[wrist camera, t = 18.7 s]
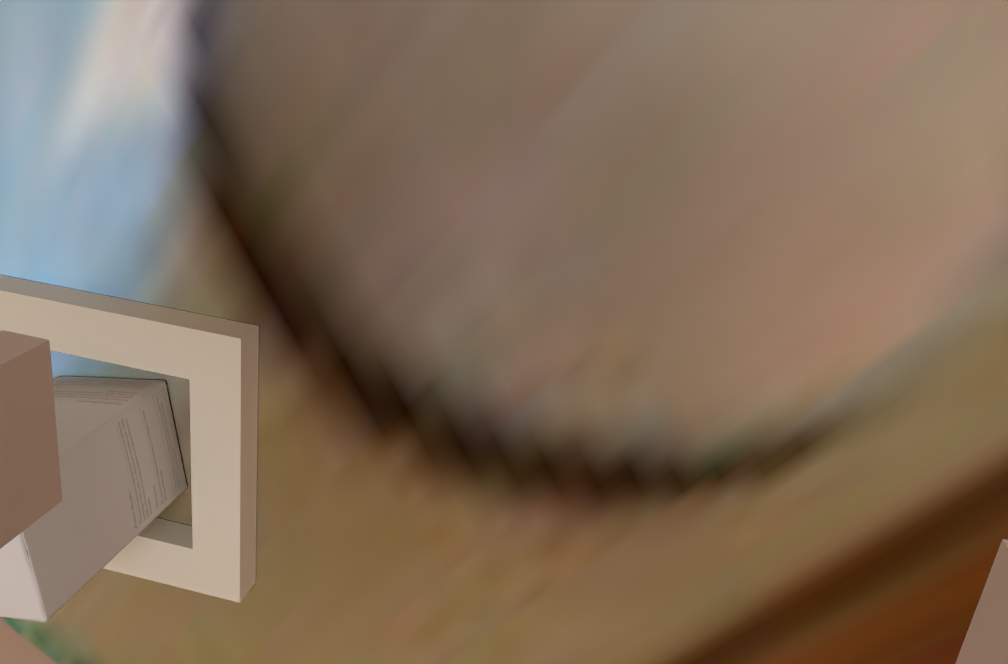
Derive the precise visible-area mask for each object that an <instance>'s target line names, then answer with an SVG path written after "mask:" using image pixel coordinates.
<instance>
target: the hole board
mask: <svg viewBox="0 0 1008 664" xmlns="http://www.w3.org/2000/svg"><path fill="white" fill-rule="evenodd" d="M2 330H5V331H10V332H14V333H19V334H24V335H29V336H33V337H38V338H43V339H48V340H49V342H50V350H52V351H57V352H61V353H66V354H71V355H76V356H80V357H85V358H90V359H94V360H99V361H104V362H109V363H113V364H118V365H123V366H128V367H132V368H137V369H142V370H147V371H151V372H156V373H161V374H166V375H170V376H175V377H180V378H185V379H189V381H190V434H191V487H192V526H189V525H185V524H181V523H176V522H172V521H168V520H164V519H160V518H155V519H154V520H153V521H152V522H151V523H150V524H149V525H148V526H147V527H146V528H144V529H143V530H142V531H141V532H140V533H139V534H138V535H137V536H136V537H135V538H134V539H133V540H132V541H131V542H130V543H129V544H128V545H127V546H126V547H124V548H123V549H122V550H121V551H120V552H119V553H118V554H117V555H116V556H115V557H114V558H113V559H112V560H111V561H110V562H109V563H108V564H106V565H105V566H104V567H103V568H104V569H108V570H112V571H116V572H120V573H124V574H128V575H132V576H136V577H140V578H144V579H148V580H152V581H156V582H160V583H164V584H168V585H172V586H176V587H180V588H183V589H187V590H191V591H195V592H199V593H203V594H207V595H211V596H215V597H219V598H223V599H227V600H231V601H235V602H239V603H240V602H241V601H242V599H243V598H244V597H245V595H246V594H247V593H248V592H249V590H250V589H251V588H252V587H253V585H254V584H255V583H256V514H257V434H258V353H259V326H257V325H252V324H247V323H242V322H237V321H232V320H227V319H222V318H217V317H211V316H206V315H201V314H196V313H191V312H186V311H181V310H176V309H171V308H166V307H161V306H156V305H151V304H146V303H141V302H136V301H131V300H126V299H120V298H115V297H110V296H105V295H100V294H95V293H90V292H85V291H80V290H75V289H70V288H65V287H60V286H55V285H50V284H45V283H40V282H35V281H29V280H24V279H19V278H14V277H9V276H4V275H0V331H2Z"/></svg>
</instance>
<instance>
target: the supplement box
mask: <svg viewBox="0 0 1008 664" xmlns="http://www.w3.org/2000/svg"><path fill="white" fill-rule="evenodd" d="M53 391H54V404H55V416H56V428H57V441H58V453H59V465H60V478H61V490H62V502H60V503H59V504H58V505H56V506H55V507H54V508H53V509H51V510H50V511H49V512H47V513H46V514H45V515H44V516H42V517H41V518H40V519H38V520H37V521H36V522H34V523H33V524H32V525H31V526H29V527H28V528H27V529H25V530H24V531H23V532H22V533H20V534H19V535H18V536H16V537H15V538H14V539H12V540H11V541H10V542H9V543H7V544H6V545H5V546H3V547H2V548H1V549H0V617H8V618H16V619H23V620H31V621H39V622H47V621H48V620H49V619H50V618H51V617H52V616H53V615H54V614H55V613H56V612H57V611H58V610H59V609H60V608H61V607H62V606H63V605H64V604H65V603H67V602H68V601H69V600H70V599H71V598H72V597H73V596H74V595H75V594H76V593H77V592H78V591H79V590H80V589H81V588H82V587H83V586H84V585H85V584H86V583H88V582H89V581H90V580H91V579H92V578H93V577H94V576H95V575H96V574H97V573H98V572H99V571H100V570H101V569H102V568H103V567H104V566H105V565H106V564H108V563H109V562H110V561H111V560H112V559H113V558H114V557H115V556H116V555H117V554H118V553H119V552H120V551H121V550H122V549H123V548H124V547H126V546H127V545H128V544H129V543H130V542H131V541H132V540H133V539H134V538H135V537H136V536H137V535H138V534H139V533H140V532H141V531H142V530H143V529H144V528H146V527H147V526H148V525H149V524H150V523H151V522H152V521H153V520H154V519H155V518H156V517H157V516H158V515H159V514H160V513H161V512H162V511H163V510H164V509H165V508H166V507H167V506H169V505H170V504H171V503H172V502H173V501H174V500H175V499H176V498H177V497H178V496H179V495H180V494H181V493H182V492H183V491H184V490H185V489H186V488H187V483H186V479H185V474H184V469H183V464H182V460H181V455H180V450H179V445H178V440H177V436H176V431H175V426H174V421H173V416H172V411H171V406H170V401H169V396H168V392H167V386H166V382H165V381H164V380H148V379H125V378H99V377H74V376H60V377H57V378H55V379H53Z"/></svg>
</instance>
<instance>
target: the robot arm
mask: <svg viewBox="0 0 1008 664" xmlns="http://www.w3.org/2000/svg"><path fill="white" fill-rule="evenodd" d="M60 502H62V490H61V478H60V465H59V453H58V441H57V428H56V416H55V404H54V391H53V379H52V367H51V355H50V342H49V340H48V339H43V338H38V337H33V336H29V335H24V334H19V333H14V332H10V331H5V330H2V331H0V549H1V548H2V547H3V546H5V545H6V544H7V543H9V542H10V541H11V540H12V539H14V538H15V537H16V536H18V535H19V534H20V533H22V532H23V531H24V530H25V529H27V528H28V527H29V526H31V525H32V524H33V523H34V522H36V521H37V520H38V519H40V518H41V517H42V516H44V515H45V514H46V513H47V512H49V511H50V510H51V509H53V508H54V507H55V506H56V505H58V504H59V503H60ZM955 664H1008V540H1005V539H1003V540H1002V542H1001V545H1000V547H999V550H998V553H997V555H996V558H995V561H994V563H993V566H992V569H991V571H990V574H989V576H988V579H987V582H986V584H985V587H984V590H983V592H982V595H981V598H980V600H979V603H978V605H977V608H976V611H975V613H974V616H973V619H972V621H971V624H970V627H969V629H968V632H967V634H966V637H965V640H964V642H963V645H962V648H961V650H960V653H959V656H958V658H957V661H956V663H955Z"/></svg>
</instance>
